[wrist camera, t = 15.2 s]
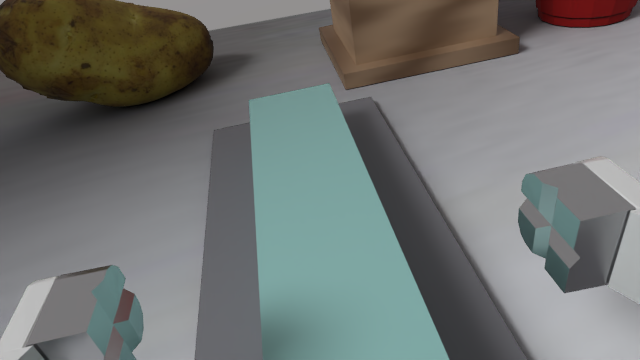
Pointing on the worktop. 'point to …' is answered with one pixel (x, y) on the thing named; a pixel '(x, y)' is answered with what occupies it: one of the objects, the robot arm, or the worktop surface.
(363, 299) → the block
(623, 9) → the plastic cup
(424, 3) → the stand
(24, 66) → the potato
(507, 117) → the worktop surface
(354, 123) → the mat
